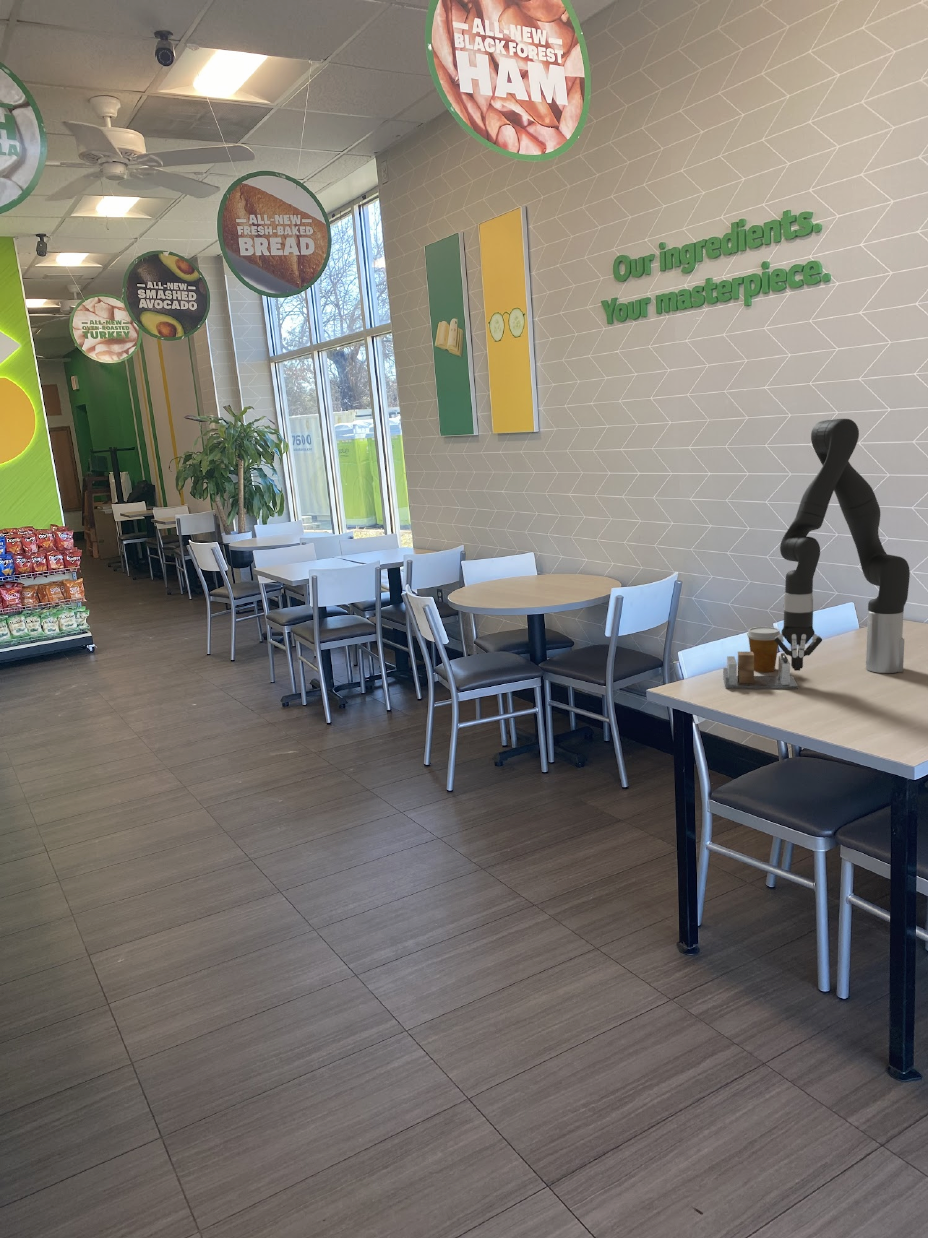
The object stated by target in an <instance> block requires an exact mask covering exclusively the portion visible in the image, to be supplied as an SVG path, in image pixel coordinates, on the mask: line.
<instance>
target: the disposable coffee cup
mask: <svg viewBox="0 0 928 1238" xmlns="http://www.w3.org/2000/svg"><path fill="white" fill-rule="evenodd" d="M780 634H781V632H780V629H778V628H777V627H771V626H756V627H750V628H749V629H748V631H747V633H746V636H747V638H748V644H749V652H753V653H754V672H759V673H771V672H774V671H775V670H776V664H777V663H776V662H777V656H778V650H779V645H778V644H777V643H776V642H775V640H774V637H775V636H778V635H780Z"/></svg>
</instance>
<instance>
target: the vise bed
mask: <svg viewBox="0 0 928 1238" xmlns="http://www.w3.org/2000/svg"><path fill="white" fill-rule="evenodd" d="M726 665H727V666H726V667H723V668H722V669H723V671H722V677H723V678H722V680H723V683H724V688H725V689H728V690H729V689H730V690H734V689H735V690H736V689H737V690H739V689H741V690H743V689H745V690H749V689H751V690H753V689H754V690H755V689H756V690H784V689H785V690H798V689H799V685H798V684H797V682H796V680H795V678H794V676H793V675H790V685H782V684H781V681H780V679H779V677H778V675H754V683H739V681H738V662H737V660H736V657H735V656H726Z"/></svg>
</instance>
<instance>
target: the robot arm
mask: <svg viewBox="0 0 928 1238" xmlns="http://www.w3.org/2000/svg"><path fill="white" fill-rule="evenodd" d="M859 431H860V430H859V427H858V424H857V423H856V422H855V421H853V420H852V419H850V418H833V419H826V420H821V421H819V422H817V423H815V424H814V426H813V427H812V429H811V433H810V440H811V445H812V448H813V450H814V452H815V454H816V456H817V458H818V460H819V461H820V463H821V466H822V467H821V469H820V470H819V471H818V473H817V475H815V477H814V478H813V479H812V481H811V482H810V484H809V485H808V487H806V490H804V493H803V495H802V497H801V500H800V503H799V506H798V509H797V513H796V514H795V518H794V520H793V521H792V522H791V524H790V526H789V527H788V529H787V531H786V532H785V534H784V535H783V537H782V539H781V542H780V546H779V550H780V551H779V552H780V555H781V556H782V558H783V559H784V560H786V561H789V562H795V563H797V566H796V569H793V570H789V571H787V572H786V574H785V579H784V580H785V589H784V590H785V591H784V598H783V599H784V600H783V627H782V629H781V632H780V635H778V636H775V637H774V640H775V642H776V643H777V644H778V648H780V650H782V651H783V653H785V655H786V656H789V657H791V660H790V661H791V662H790V667H791V668H792V669H793V670H794V671H798V672H799V671H801V669H803V667H804V657H806V656H810V655H811V654H812V653H813V652H814V651H815V649H816V648H817V647H818V646H819V645H820V644H821V643H822V642H823V639H822V637H821V636H820V635H817V634H816V633H815V630H814V594H813V591H814V590H813V588H814V576H815V573H816V569H817V566H818V564H819V559H820V556H821V547H820V543H819V541H818V540H817V539H816V538H814V537H812V536H808V535H809V533H810V532H813V531H816V530H819V529H820V528H821V527H822V525H823V522H824V520H825V517H826V514H827V511H828V508H829V504H830V501H831V499H832V496H833V494H834V493H835V496H836V499H837V501H838V505H839V508H840V510H841V513H842V515H843V517H844V520H845V522H846V524H847V527H848V529H849V532H850V535H851V537H852V540H853V543H854V544H855V545H854V546H855V549H856V551H857V552H856V553H857V555H858V559H859V562H860V567H861V570H862V574H863V576H864V578H865V580H866V581H867V582H868V583H870V584H872V585H873V586H877V587H878V595H877V597H876V598H875V597H874V598H872V599H869V601H868V603H867V624H866V625H867V627H866V628H867V629H866V648H865V649H866V651H865V652H866V653H865V655H866V657H865V669H866V670H867V671H869V672H874V673H880V674H895V673H900V672H901V673H903V672H904V662H905V661H904V658H905V638H904V637H903V636H904V635H903V632H904V630H903V629H904V612H905V611H904V610H905V606H906V603H907V601H908V596H909V587H910V586H909V585H910V579H911V577H910V575H911V572H910V565H909V563H908V561H907V560H906V559H905V558H904V557H901V556H899V555H893V554H887V552H886V550H885V548H884V547H883V544H882V542H881V538H880V535H879V529H880V523H881V522H880V521H881V507H880V505H879V501H878V500H877V497H876V494H875V492H874V489H873V488H872V486H871V485H870V484H869V483H868V481H867V480H866V479H865V478H864V477H863V476H862V475H861V474H860V473H859V472H858V471H857V470H856V469H855V467H853V466H852V464H851V463H850V459H851V457H852V454H853V453H854V451H855V449H856V446H857V444H858V442H859V437H860V432H859ZM785 640H786V642H787V643H788V644H789V645H790V649H788V648H787V646H786V645H785V644H784V641H785ZM810 640H811V643H810V644H809V645H808V646H807V647H806V645H807V644H808V643H809V642H810ZM805 647H806V648H805Z"/></svg>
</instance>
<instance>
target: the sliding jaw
mask: <svg viewBox="0 0 928 1238" xmlns="http://www.w3.org/2000/svg"><path fill="white" fill-rule="evenodd" d="M777 670H778V673H777V676H778V677H779V679H780V681H781V684H782V685H790V676H791V662H790V661H789V659H788V657H787V655H786V654H785V653H784V652H782V653H781V654H780V655H778V669H777Z"/></svg>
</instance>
